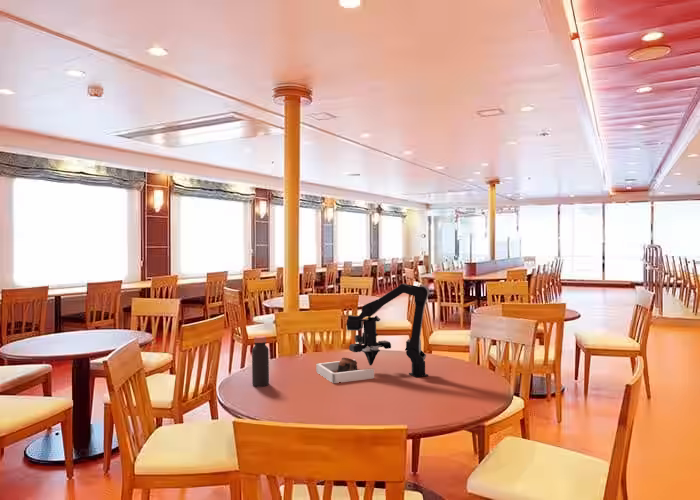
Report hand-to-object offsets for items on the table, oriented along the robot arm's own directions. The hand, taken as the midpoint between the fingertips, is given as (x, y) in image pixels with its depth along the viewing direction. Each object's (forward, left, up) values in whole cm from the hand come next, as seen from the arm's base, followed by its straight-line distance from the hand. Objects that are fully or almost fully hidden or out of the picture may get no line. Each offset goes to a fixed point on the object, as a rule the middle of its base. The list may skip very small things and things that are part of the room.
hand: (370, 365), depth 226 cm
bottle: (+1, +50, -3) cm, 50 cm away
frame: (0, +13, -3) cm, 13 cm away
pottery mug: (+2, +11, -4) cm, 11 cm away
